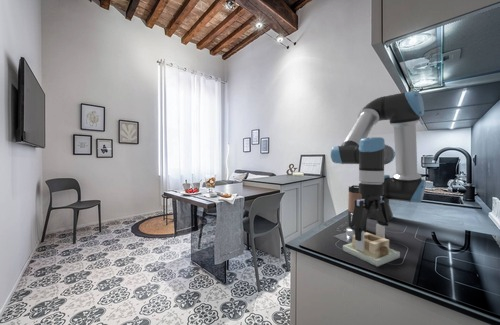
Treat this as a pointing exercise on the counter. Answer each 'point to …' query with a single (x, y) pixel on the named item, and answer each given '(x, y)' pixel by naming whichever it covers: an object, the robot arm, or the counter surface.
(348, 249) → the tray
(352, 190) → the travel mug
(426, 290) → the counter surface
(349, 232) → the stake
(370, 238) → the hollow wooden box
